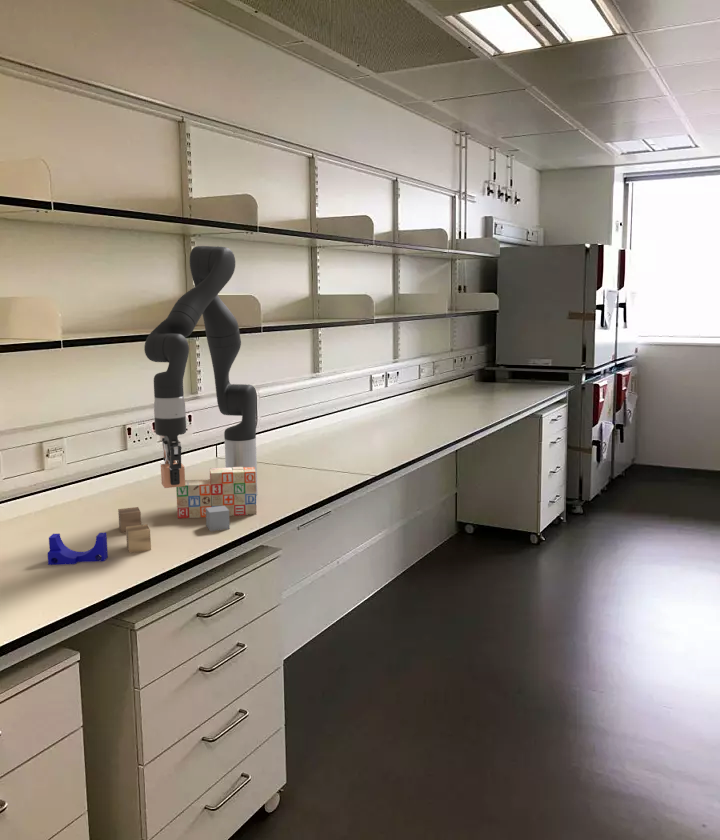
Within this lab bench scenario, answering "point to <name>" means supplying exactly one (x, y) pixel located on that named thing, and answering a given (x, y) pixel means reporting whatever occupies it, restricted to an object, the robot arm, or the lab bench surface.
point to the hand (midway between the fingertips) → (173, 481)
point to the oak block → (138, 538)
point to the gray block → (217, 518)
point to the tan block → (129, 518)
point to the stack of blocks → (219, 493)
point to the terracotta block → (166, 476)
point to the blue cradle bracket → (67, 556)
